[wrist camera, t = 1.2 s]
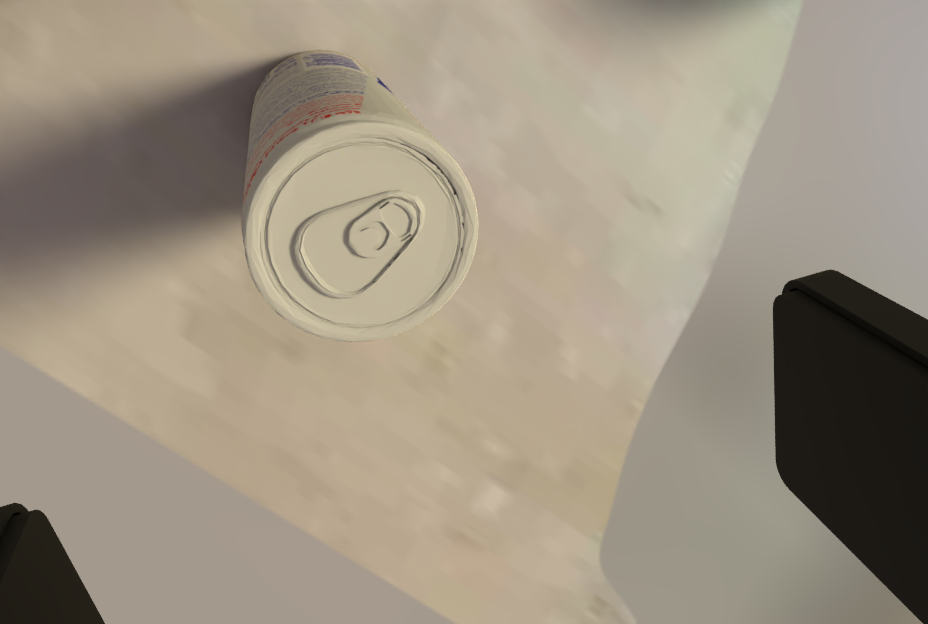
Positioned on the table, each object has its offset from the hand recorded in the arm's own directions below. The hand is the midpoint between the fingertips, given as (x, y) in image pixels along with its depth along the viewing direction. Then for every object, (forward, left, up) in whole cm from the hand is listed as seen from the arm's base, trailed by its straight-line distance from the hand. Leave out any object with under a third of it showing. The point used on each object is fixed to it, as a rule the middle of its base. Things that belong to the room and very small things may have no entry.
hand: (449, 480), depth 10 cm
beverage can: (0, 0, -25) cm, 25 cm away
